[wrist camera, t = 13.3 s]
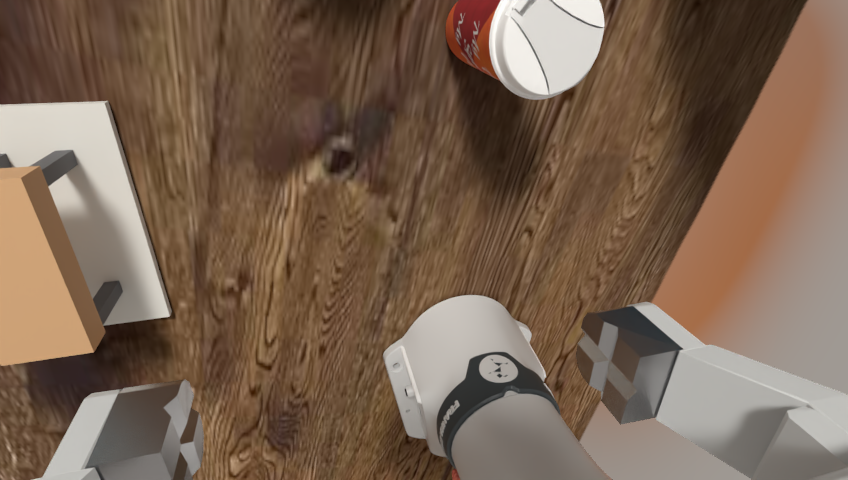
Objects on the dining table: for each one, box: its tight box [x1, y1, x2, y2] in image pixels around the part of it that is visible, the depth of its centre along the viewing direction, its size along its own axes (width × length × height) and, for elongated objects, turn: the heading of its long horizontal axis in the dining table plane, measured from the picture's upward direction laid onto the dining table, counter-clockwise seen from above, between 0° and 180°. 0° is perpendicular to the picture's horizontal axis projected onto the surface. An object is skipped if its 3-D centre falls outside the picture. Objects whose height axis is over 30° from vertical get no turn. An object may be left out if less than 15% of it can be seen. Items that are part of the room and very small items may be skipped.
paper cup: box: [445, 0, 604, 100], centre depth 34 cm, size 8×8×14 cm
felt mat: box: [0, 101, 172, 326], centre depth 38 cm, size 20×12×1 cm, turn 179°
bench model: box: [0, 150, 123, 366], centre depth 34 cm, size 14×6×8 cm, turn 179°
